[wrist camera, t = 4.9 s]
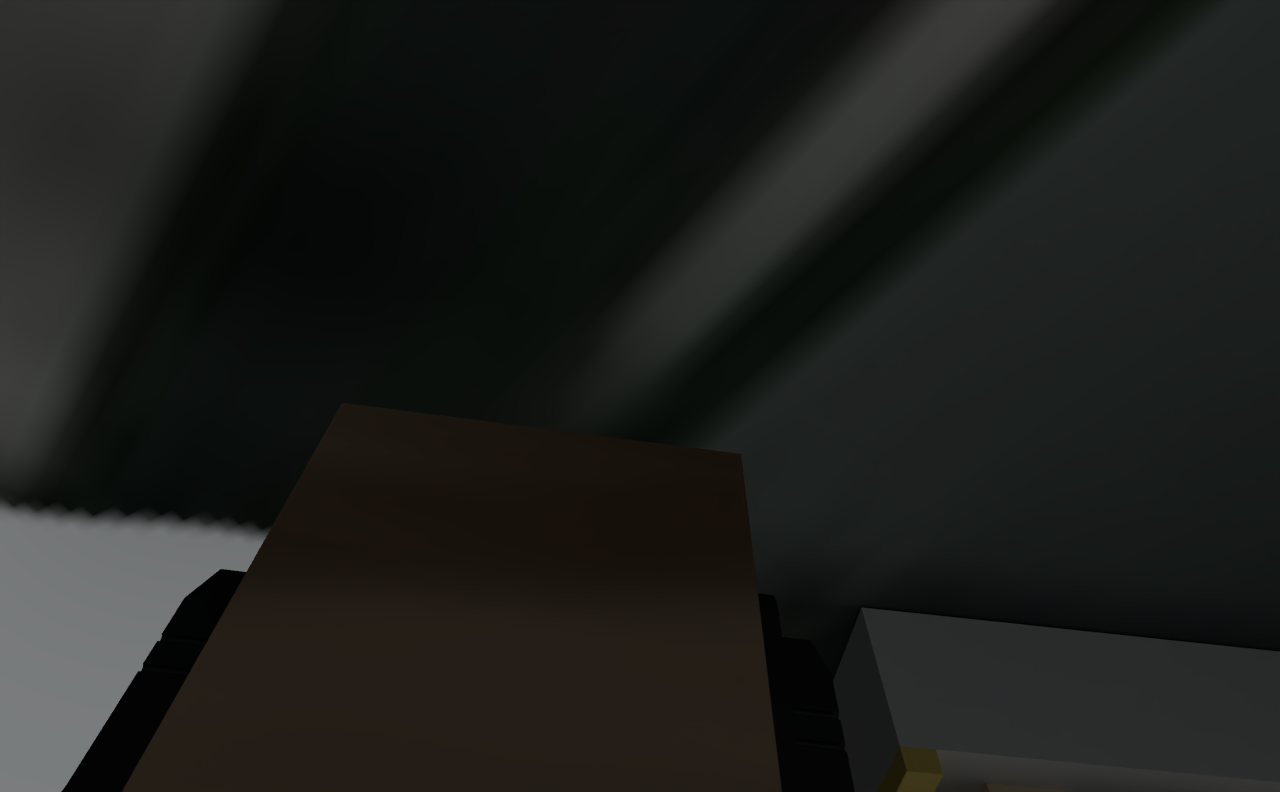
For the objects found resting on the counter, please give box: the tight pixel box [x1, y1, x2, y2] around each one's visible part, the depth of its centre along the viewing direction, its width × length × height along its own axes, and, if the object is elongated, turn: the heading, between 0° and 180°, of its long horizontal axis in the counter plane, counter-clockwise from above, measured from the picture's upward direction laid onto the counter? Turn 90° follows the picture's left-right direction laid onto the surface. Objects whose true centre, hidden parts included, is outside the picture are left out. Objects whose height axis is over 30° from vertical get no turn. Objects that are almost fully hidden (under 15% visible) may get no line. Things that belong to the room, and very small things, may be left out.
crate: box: [122, 403, 782, 792], centre depth 9 cm, size 5×5×6 cm
